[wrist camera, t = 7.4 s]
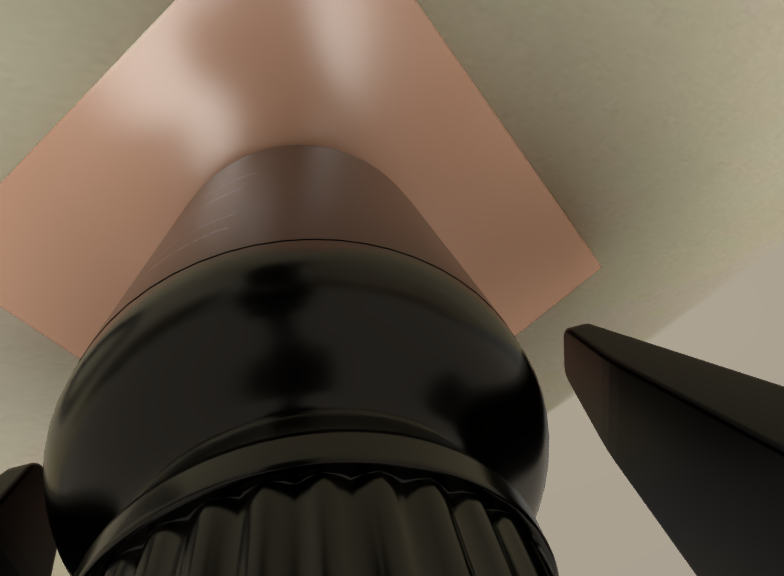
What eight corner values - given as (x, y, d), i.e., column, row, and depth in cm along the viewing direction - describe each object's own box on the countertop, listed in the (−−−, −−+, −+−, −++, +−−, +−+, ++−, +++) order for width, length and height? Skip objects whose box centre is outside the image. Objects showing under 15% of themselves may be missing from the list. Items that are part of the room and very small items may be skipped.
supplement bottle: (470, 234, 15) (896, 692, 5) (330, 399, 17) (403, 1026, 6) (267, 76, 13) (142, 282, 2) (124, 290, 14) (-393, 1068, 3)
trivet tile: (312, -134, 12) (314, -146, 11) (589, 258, 17) (602, 267, 16) (-53, 246, 14) (-72, 258, 13) (301, 487, 19) (301, 504, 18)
